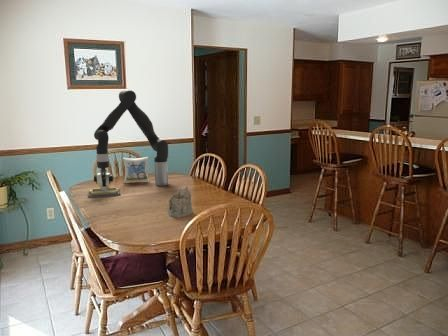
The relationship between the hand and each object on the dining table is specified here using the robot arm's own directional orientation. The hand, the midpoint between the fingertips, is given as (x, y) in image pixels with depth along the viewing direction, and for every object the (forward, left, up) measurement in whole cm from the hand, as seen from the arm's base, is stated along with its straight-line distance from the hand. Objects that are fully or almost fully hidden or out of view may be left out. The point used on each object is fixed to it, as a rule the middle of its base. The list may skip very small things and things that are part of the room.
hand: (104, 185), depth 253 cm
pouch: (-23, -29, -6) cm, 37 cm away
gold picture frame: (0, 0, -6) cm, 6 cm away
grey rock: (-40, +55, -6) cm, 68 cm away
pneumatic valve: (0, 0, -3) cm, 3 cm away
